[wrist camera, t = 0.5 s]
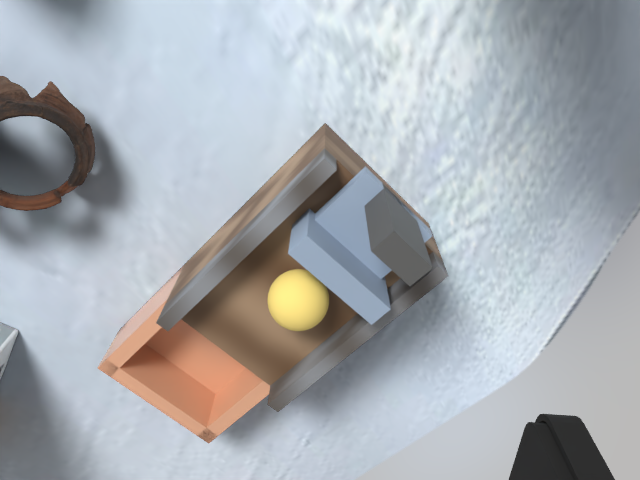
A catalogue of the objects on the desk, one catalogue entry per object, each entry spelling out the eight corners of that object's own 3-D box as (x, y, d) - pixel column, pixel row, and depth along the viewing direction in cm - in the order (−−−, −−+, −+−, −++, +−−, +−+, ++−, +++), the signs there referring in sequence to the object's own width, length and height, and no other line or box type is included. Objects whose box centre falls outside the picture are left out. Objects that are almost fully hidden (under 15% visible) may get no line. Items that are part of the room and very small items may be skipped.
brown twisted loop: (-6, 20, 37) (2, 57, 31) (110, 108, 44) (135, 151, 38) (-119, 153, 38) (-131, 213, 32) (12, 219, 45) (21, 279, 39)
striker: (359, 160, 34) (366, 205, 28) (435, 234, 36) (457, 291, 30) (292, 224, 36) (284, 279, 30) (367, 290, 38) (375, 355, 32)
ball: (298, 247, 37) (295, 277, 33) (341, 284, 38) (342, 317, 35) (258, 284, 38) (251, 317, 35) (300, 318, 39) (298, 354, 36)
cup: (184, 265, 45) (167, 298, 40) (285, 344, 48) (280, 384, 43) (119, 330, 47) (97, 368, 43) (219, 401, 51) (208, 443, 46)
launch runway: (325, 123, 39) (324, 158, 32) (428, 223, 43) (448, 276, 35) (184, 265, 45) (156, 322, 37) (285, 344, 48) (277, 412, 41)
